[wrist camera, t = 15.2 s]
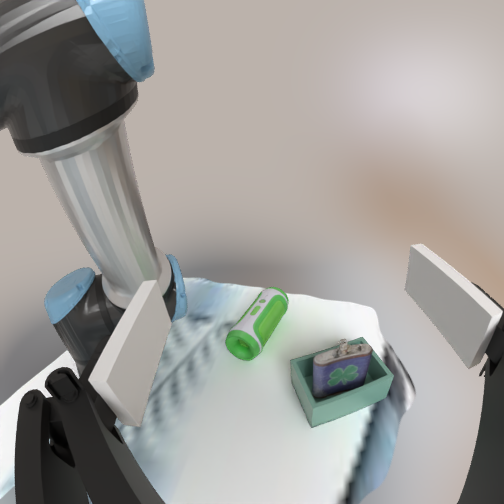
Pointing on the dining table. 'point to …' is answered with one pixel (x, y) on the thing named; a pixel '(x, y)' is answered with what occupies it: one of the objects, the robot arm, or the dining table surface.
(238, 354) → the speaker
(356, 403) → the open box
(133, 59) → the robot arm
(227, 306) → the dining table surface
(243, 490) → the dining table surface
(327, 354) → the flask
